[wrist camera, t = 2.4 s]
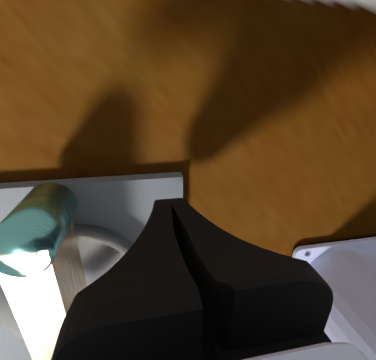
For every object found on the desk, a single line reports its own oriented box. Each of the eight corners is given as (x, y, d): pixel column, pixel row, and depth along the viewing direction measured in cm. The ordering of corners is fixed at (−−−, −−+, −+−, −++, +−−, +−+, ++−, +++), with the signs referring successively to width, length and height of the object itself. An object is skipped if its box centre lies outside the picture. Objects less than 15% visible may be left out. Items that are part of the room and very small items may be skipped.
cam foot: (148, 313, 17) (151, 389, 13) (24, 333, 16) (-17, 424, 12) (136, 170, 13) (134, 215, 8) (-39, 180, 11) (-139, 239, 7)
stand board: (180, 171, 14) (183, 176, 13) (181, 338, 20) (183, 348, 19) (-154, 192, 11) (-174, 200, 11) (-37, 378, 17) (-45, 391, 17)
